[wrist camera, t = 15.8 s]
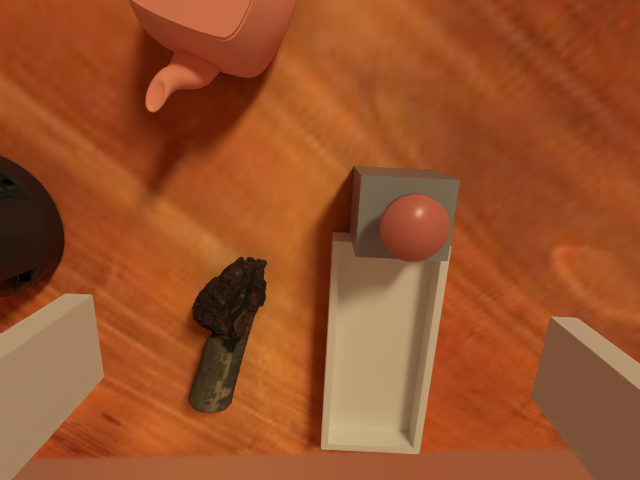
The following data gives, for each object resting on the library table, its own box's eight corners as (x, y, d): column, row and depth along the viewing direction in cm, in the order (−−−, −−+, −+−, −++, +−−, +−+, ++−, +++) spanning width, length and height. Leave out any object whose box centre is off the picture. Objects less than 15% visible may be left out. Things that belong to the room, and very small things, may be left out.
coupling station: (321, 426, 47) (320, 514, 36) (336, 165, 37) (341, 178, 27) (412, 430, 47) (438, 520, 36) (450, 171, 38) (500, 186, 27)
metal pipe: (234, 392, 45) (223, 427, 39) (179, 377, 44) (160, 410, 39) (277, 260, 40) (271, 278, 35) (217, 241, 40) (202, 257, 34)
